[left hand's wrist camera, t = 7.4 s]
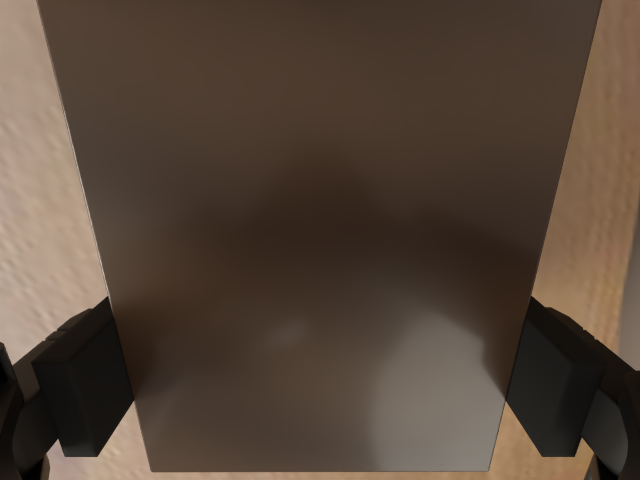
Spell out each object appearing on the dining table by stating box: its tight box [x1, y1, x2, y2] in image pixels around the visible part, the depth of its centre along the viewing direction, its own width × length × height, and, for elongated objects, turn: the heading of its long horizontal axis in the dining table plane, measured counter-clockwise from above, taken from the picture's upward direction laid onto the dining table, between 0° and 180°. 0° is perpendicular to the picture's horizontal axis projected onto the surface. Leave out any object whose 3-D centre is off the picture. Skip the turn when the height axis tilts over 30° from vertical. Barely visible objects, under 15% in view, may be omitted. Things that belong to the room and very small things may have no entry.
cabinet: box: [36, 0, 602, 472], centre depth 12 cm, size 17×10×9 cm, turn 0°
